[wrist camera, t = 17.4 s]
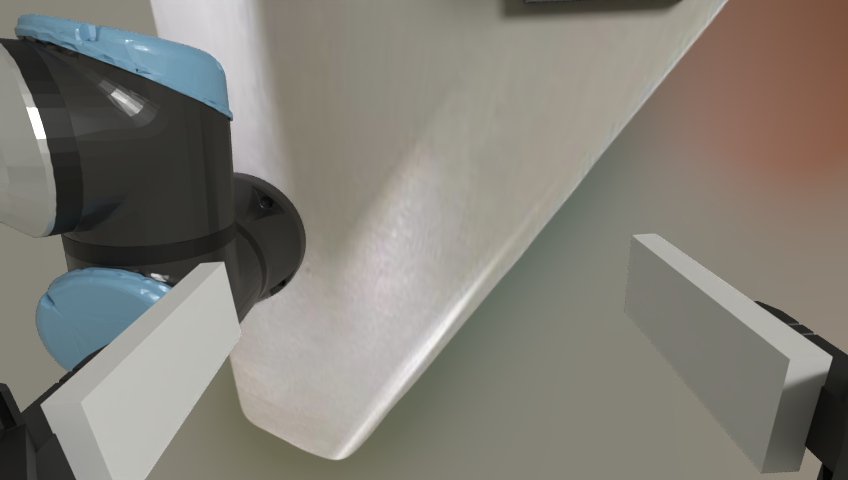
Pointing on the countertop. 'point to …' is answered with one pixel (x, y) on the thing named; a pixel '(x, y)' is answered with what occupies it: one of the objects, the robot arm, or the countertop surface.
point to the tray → (534, 0)
